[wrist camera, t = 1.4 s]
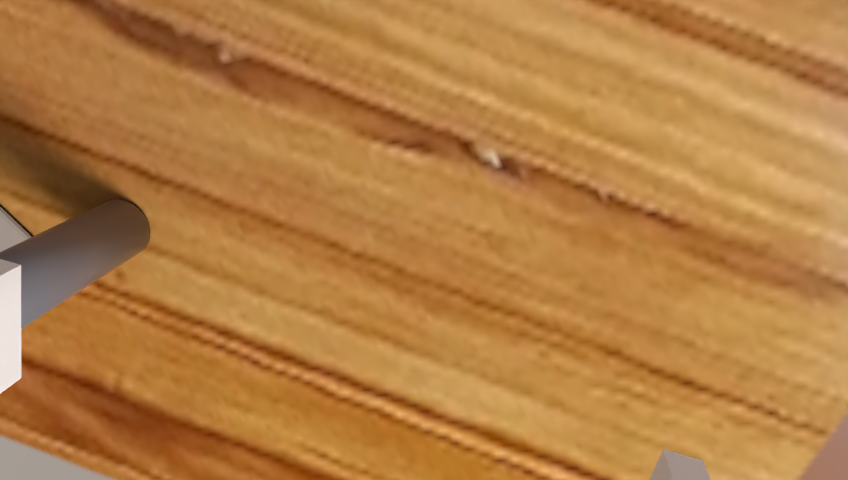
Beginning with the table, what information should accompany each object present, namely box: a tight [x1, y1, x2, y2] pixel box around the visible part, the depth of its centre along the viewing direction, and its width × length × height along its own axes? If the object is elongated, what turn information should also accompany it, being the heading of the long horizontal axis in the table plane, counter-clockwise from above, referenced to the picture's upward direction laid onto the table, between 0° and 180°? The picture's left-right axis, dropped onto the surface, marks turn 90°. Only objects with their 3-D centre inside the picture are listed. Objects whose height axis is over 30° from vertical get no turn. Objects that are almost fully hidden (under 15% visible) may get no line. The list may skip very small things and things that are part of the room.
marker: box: [0, 199, 150, 329], centre depth 31 cm, size 4×4×14 cm
